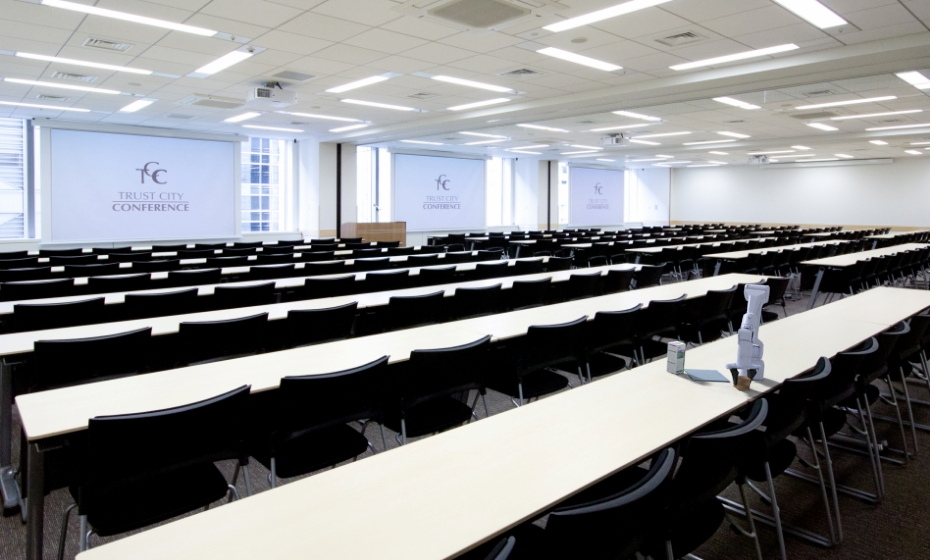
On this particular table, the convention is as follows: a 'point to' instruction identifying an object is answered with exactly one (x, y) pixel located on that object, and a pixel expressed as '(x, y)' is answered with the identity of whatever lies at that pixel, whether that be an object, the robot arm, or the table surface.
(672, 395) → the table surface
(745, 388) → the walnut cube
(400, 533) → the table surface
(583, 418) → the table surface
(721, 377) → the slate board
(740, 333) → the robot arm
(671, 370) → the syrup box
